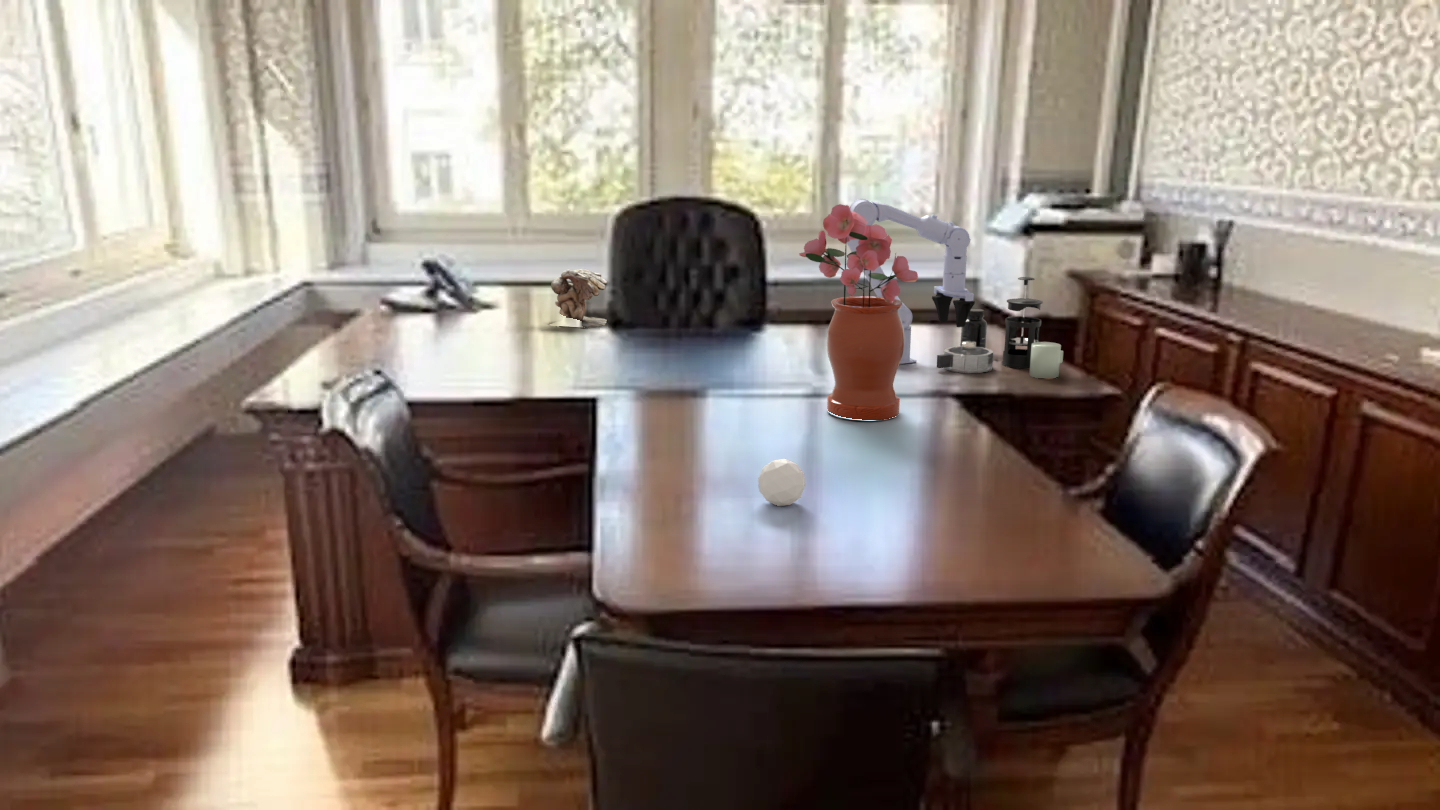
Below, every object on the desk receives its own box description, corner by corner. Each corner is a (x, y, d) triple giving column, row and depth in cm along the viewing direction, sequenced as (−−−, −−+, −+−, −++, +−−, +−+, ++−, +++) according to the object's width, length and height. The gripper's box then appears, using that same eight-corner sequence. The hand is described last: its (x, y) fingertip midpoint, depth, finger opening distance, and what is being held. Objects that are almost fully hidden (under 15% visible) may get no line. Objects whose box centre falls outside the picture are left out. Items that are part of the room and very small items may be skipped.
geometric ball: (769, 516, 177) (753, 473, 179) (814, 499, 177) (796, 456, 179) (765, 509, 170) (748, 464, 172) (811, 491, 169) (793, 446, 172)
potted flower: (794, 401, 240) (796, 201, 228) (903, 399, 241) (912, 200, 230) (805, 424, 222) (809, 207, 210) (923, 421, 223) (933, 206, 211)
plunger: (964, 369, 266) (965, 347, 264) (943, 363, 273) (944, 340, 272) (992, 366, 269) (993, 344, 268) (971, 359, 277) (972, 337, 275)
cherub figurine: (568, 316, 348) (566, 262, 343) (618, 319, 342) (616, 264, 338) (542, 326, 332) (539, 269, 327) (594, 329, 326) (592, 272, 321)
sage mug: (1042, 380, 259) (1044, 348, 257) (1023, 374, 265) (1025, 343, 263) (1069, 376, 262) (1072, 345, 260) (1050, 371, 268) (1052, 340, 266)
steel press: (952, 376, 263) (952, 358, 261) (924, 367, 273) (924, 349, 272) (1001, 370, 269) (1002, 353, 267) (972, 361, 279) (973, 344, 278)
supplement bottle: (987, 355, 287) (990, 312, 283) (962, 355, 287) (965, 312, 284) (982, 350, 293) (984, 307, 290) (957, 350, 293) (960, 307, 290)
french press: (1047, 368, 271) (1054, 279, 266) (1014, 370, 269) (1020, 280, 263) (1023, 358, 282) (1029, 273, 277) (991, 360, 280) (997, 274, 274)
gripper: (984, 275, 269) (981, 327, 273) (950, 268, 282) (947, 318, 285) (961, 277, 266) (959, 330, 270) (928, 270, 279) (926, 320, 283)
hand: (951, 324), depth 277 cm, fingers open, 7 cm apart
